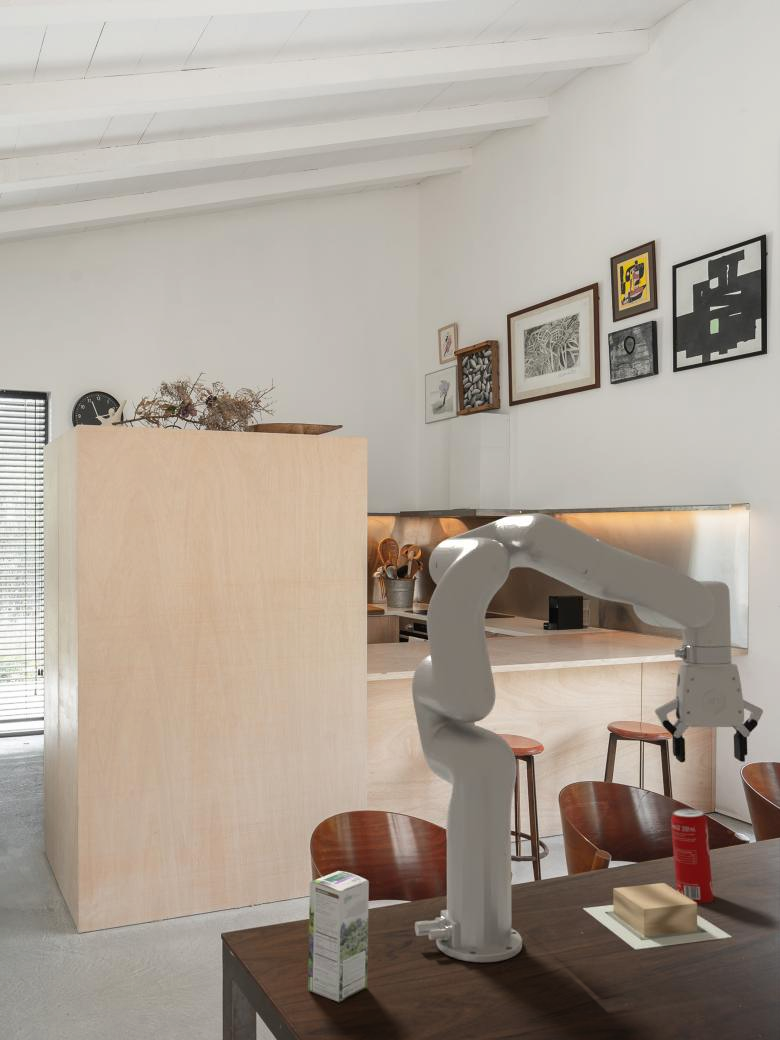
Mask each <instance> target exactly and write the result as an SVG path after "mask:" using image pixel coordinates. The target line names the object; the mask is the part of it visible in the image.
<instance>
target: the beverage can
mask: <svg viewBox="0 0 780 1040" xmlns="http://www.w3.org/2000/svg"><path fill="white" fill-rule="evenodd" d="M670 823H671V837H672V849H673V863H674V864H673V865H674V876H675V877H674V878H675V887H676V889H675V890H676V891H678V892H680V893H681V894H683V895H684V896H686V897H688V898H689V899H691V900H693V901H694V902H696V903H697V904H702V903H703V904H706V903H710V902H712V901H713V900H714V889H713V888H714V887H713V876H712V875H713V874H712V864H711V863H712V862H711V853H710V852H711V850H710V839H709V828H708V827H709V825H708V819H707V817H706V815H705V812H704V810H701V809H696V808H690V807H689V808H678V809H674V810H673V811H672V815H671V818H670Z"/></svg>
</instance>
